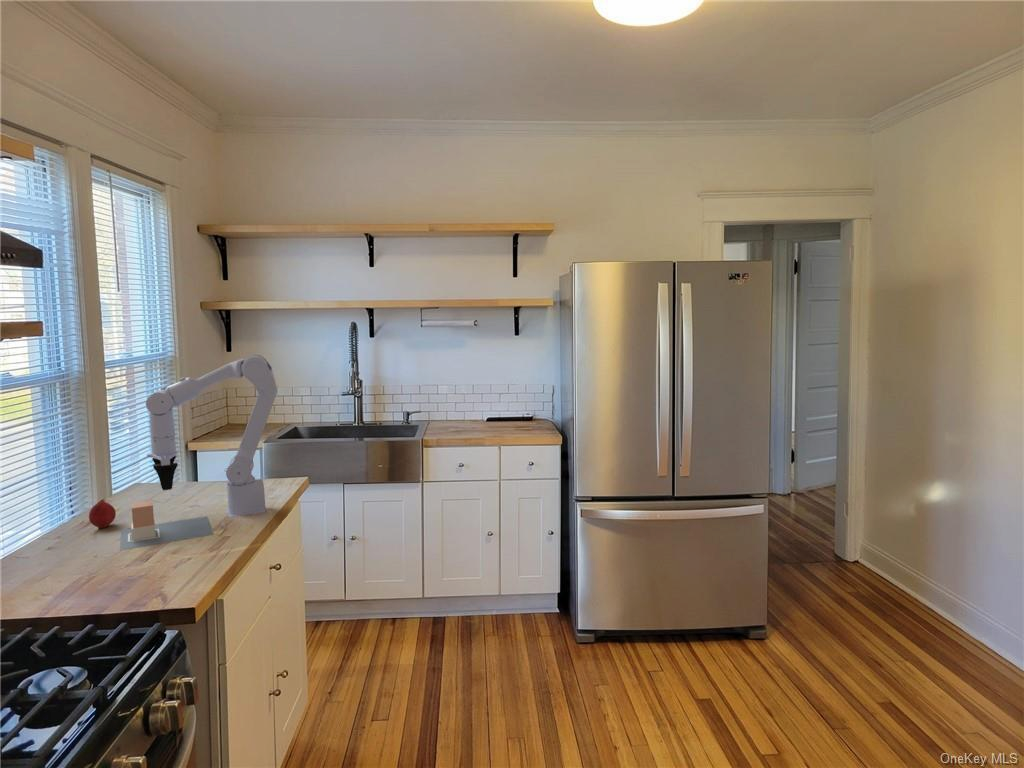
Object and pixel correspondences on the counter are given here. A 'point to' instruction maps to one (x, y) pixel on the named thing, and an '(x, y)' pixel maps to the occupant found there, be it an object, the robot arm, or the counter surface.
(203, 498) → the counter surface
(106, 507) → the onion
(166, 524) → the board
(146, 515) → the terracotta block
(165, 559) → the counter surface
